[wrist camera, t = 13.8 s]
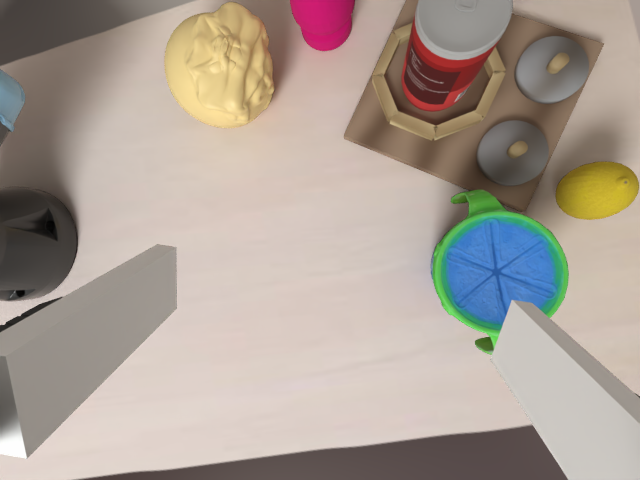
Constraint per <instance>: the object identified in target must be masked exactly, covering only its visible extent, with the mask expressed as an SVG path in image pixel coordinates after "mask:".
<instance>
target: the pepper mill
mask: <svg viewBox="0 0 640 480" xmlns="http://www.w3.org/2000/svg"><path fill="white" fill-rule="evenodd" d="M354 3H355V0H290V4H291V9H292V14H293V16H294V18H295V20H296V22H297V23H298V24H299V26H300V27H301V31H302V34H303V37H304V39H305V41H306V42H307V44H308V45H309V46H311V47H312V48H314V49H316V50H320V51H328V50H333V49H335V48H337V47H339V46H340V45H342V44H343V43H344V42H345V41H346V39H347V38H348V36H349V34H350V31H351V26H352V21H351V14H352V11H353V8H354Z"/></svg>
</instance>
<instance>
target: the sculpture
mask: <svg viewBox="0 0 640 480" xmlns="http://www.w3.org/2000/svg"><path fill="white" fill-rule="evenodd" d="M268 45H269V37H268V35H267V33H266V29H265V26H264V24H263V22H262V21H261V20H260V19H259V18H258V17H257V16H255V15H252V14H251V12H250V11H248V10H247V9H246V8H245V7H243V6H242V5H240V4H238V3H235V2H228V3H226V4H223V5H222V6H221V7H220V9H218V10H217V11H216V12H214V13H201V14H197V15H194V16H191V17H189V18H187V19H186V20H184V21H183V22H182V23H181V24H180V25H179V26H178V27H177V28H176V29H175V30H174V32H173V33H172V35H171V37H170V39H169V41H168V43H167V47H166V51H165V61H164V64H165V74H166V79H167V82H168V85H169V88H170V90H171V92H172V94H173V96H174V98H175V99H176V101H177V102H178V103H179V105H180V106H181V107H182V108H183V109H184V110H185V111H186V112H187V113H189V114H190V115H191V116H193V117H194V118H196V119H197V120H199V121H201V122H203V123H205V124H208V125H211V126H215V127H220V128H235V127H240V126H243V125H246V124H248V123H249V122H251V121H252V120H254V119H255V118H256V117H257V116H258V115H259V114H260V113H261V112H262V111H263V110H265V109H266V108H267V107H268V105H269V103H270V101H271V98H272V94H273V92H274V82H273V79H272V72H273V65H272V59H271V55H270V53H269V52H268V48H267V47H268Z"/></svg>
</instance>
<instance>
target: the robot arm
mask: <svg viewBox="0 0 640 480" xmlns="http://www.w3.org/2000/svg"><path fill="white" fill-rule="evenodd" d="M24 103H25V93H24V91H23V89H22V87H21V86H20V84H19V83H18V82H17V81H16V80H15V79H14V78H12V77H11V76H10V75H8V74H7V73H5V72H4V71H2V70H1V69H0V146H1V144H2V143H3V141H4V139H5V138H6V136H7V134H8V133H9V131H10V132H13V131H14V126H13V125H14V123H15V121H16V119H17V117H18V115H19V113H20V111H21V109H22V107H23V105H24ZM76 246H77V238H76V230H75V226H74V222H73V220H72V217H71V215H70V213H69V212H68V210H67V209H66V207H65V206H64V205H63V204H62V203H61V202H60V201H59V200H58V199H57V198H55V197H54V196H52V195H51V194H49V193H46V192H43V191H39V190H34V189H29V188H24V187H5V188H0V301H21V300H28V299H35V298H39V297H42V296H44V295H46V294H48V293H50V292H51V291H53V290H54V289H55V288H57V287H58V286H59V285H60V284H61V283H62V281H63V280H64V279H65V277H66V276H67V274H68V273H69V271H70V269H71V267H72V264H73V261H74V258H75V254H76ZM176 309H177V277H176V247H172V246H165V245H159V244H157V245H155V246H154V247H152V248H150V249H148V250H146V251H145V252H143V253H141V254H139V255H137V256H136V257H134V258H132V259H130V260H129V261H127V262H125V263H123V264H121V265H120V266H118V267H116V268H114V269H113V270H111V271H109V272H107V273H105V274H104V275H102V276H100V277H98V278H96V279H95V280H93V281H91V282H89V283H88V284H86V285H84V286H82V287H80V288H79V289H77V290H75V291H73V292H72V293H70V294H68V295H66V296H64V297H60V298H57V299H54V300H51V301H48V302H45V303H42V304H39V305H37V306H36V307H34V308H32V309H30V310H28V311H26V312H24V313H23V314H21V316H17V317H15V318H13V319H12V320H10V321H8V322H6V324H5V325H0V454H4V455H9V456H15V457H20V458H26V459H27V458H28V457H29V456H30V455H31V454H32V453H33V452H34V451H35V450H36V449H37V448H38V447H39V446H40V445H41V444H42V443H43V442H44V441H45V440H46V439H47V438H48V437H49V436H50V435H51V434H52V433H53V432H54V431H55V430H56V429H57V428H58V427H59V426H60V425H61V424H62V423H63V422H64V421H65V420H66V419H67V418H68V417H69V416H70V415H71V414H72V413H73V412H74V411H75V410H76V409H77V408H78V407H79V406H80V405H81V404H82V403H83V402H84V401H85V400H86V399H87V398H88V397H89V396H90V395H91V394H92V393H93V392H94V391H95V390H96V389H97V388H98V387H99V386H100V385H101V384H102V383H103V382H104V381H105V380H106V379H107V378H108V377H109V376H110V375H111V374H112V373H113V372H114V371H115V370H116V369H117V368H118V367H119V366H120V365H121V364H122V363H123V362H124V361H125V360H126V359H127V358H128V357H129V356H130V355H131V354H132V353H133V352H134V351H135V350H136V349H137V348H138V347H139V346H140V345H141V344H142V343H143V342H144V341H145V340H146V339H147V338H148V337H149V336H150V335H151V334H152V333H153V332H154V331H155V330H156V329H157V328H158V327H159V326H160V325H161V324H162V323H163V322H164V321H165V320H166V319H167V318H168V317H169V316H170V315H171V314H172V313H173V312H174V311H175V310H176ZM490 360H491V361H492V363H493V365H494V366H495V368H496V369H497V371H498V372H499V374H500V375H501V377H502V378H503V380H504V381H505V383H506V384H507V386H508V388H509V389H510V391H511V392H512V394H513V395H514V397H515V398H516V400H517V401H518V403H519V404H520V406H521V407H522V409H523V411H524V412H525V414H526V415H527V417H528V418H529V420H530V421H531V423H532V424H533V426H534V427H535V429H536V430H537V432H538V433H539V435H540V437H541V438H542V440H543V441H544V443H545V444H546V446H547V447H548V449H549V450H550V452H551V453H552V455H553V456H554V458H555V460H556V461H557V463H558V464H559V466H560V467H561V469H562V470H563V472H564V473H565V475H566V476H567V478H568V480H640V396H638V395H637V394H635V393H634V392H632V391H631V390H630V389H629V388H628V387H627V386H626V385H625V384H623V383H622V382H621V381H620V380H619V379H618V378H617V377H615V376H614V375H613V374H612V373H611V372H610V371H609V370H608V369H606V368H605V367H604V366H603V365H602V364H601V363H600V362H599V361H597V360H596V359H595V358H594V357H593V356H592V355H591V354H589V353H588V352H587V351H586V350H585V349H584V348H583V347H582V346H580V345H579V344H578V343H577V342H576V341H575V340H574V339H572V338H571V337H570V336H569V335H568V334H567V333H566V332H565V331H563V330H562V329H561V328H560V327H559V326H558V325H557V324H556V323H554V322H553V321H552V320H551V319H550V318H549V317H548V316H546V315H545V314H544V313H543V312H542V311H541V310H540V309H539V308H537V307H536V306H535V305H534V304H533V303H530V302H523V301H517V300H512V301H511V304H510V306H509V309H508V312H507V315H506V317H505V320H504V323H503V326H502V328H501V331H500V334H499V337H498V340H497V342H496V345H495V348H494V351H493V353H492V356H491V359H490Z"/></svg>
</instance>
